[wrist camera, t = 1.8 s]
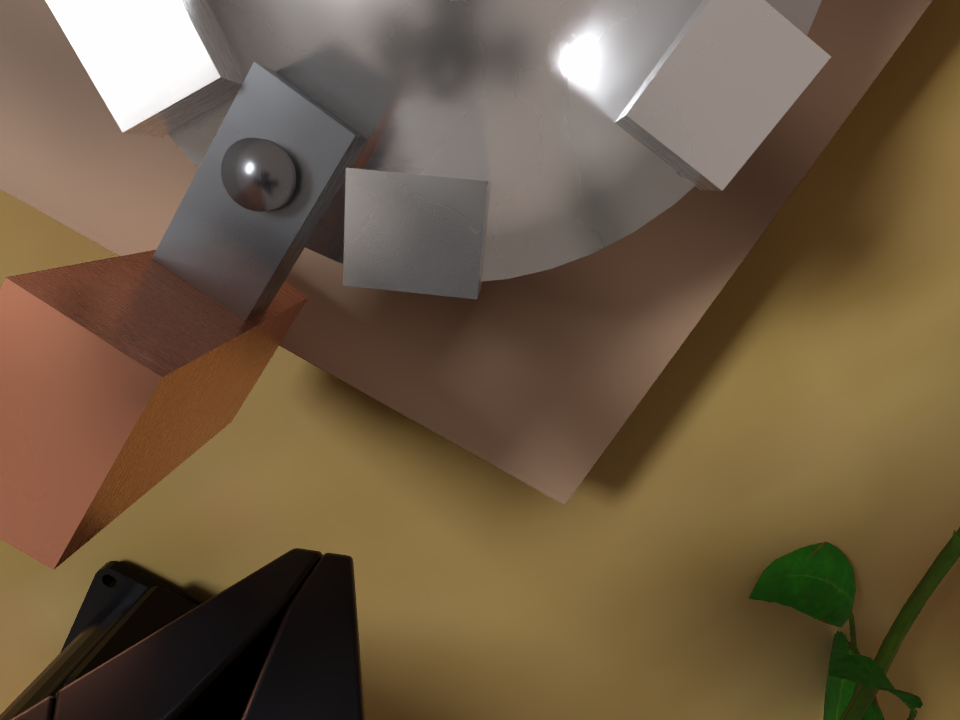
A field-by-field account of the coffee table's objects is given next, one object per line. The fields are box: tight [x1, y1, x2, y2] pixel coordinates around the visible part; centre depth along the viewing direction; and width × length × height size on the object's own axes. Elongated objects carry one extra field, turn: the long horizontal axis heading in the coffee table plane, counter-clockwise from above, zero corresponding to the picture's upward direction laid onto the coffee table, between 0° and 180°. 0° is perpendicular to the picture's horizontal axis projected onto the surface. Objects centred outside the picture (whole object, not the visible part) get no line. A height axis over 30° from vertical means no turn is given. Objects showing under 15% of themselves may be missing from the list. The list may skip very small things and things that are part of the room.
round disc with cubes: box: [0, 0, 831, 570], centre depth 10 cm, size 18×13×7 cm
